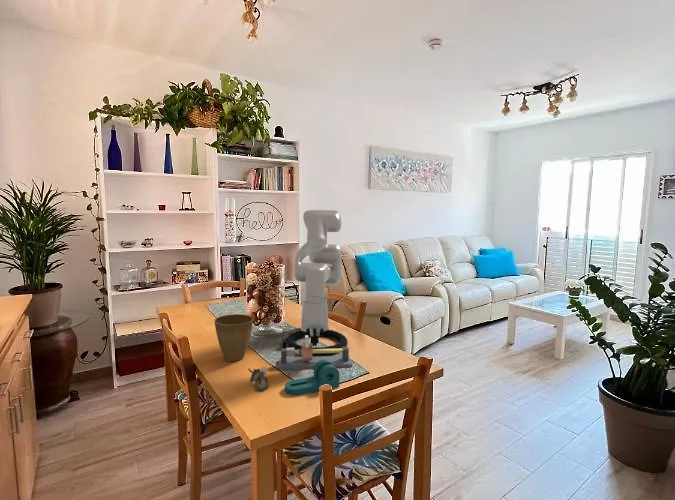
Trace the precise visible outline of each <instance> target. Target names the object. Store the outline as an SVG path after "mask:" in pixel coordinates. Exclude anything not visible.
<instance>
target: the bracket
mask: <svg viewBox="0 0 675 500" xmlns="http://www.w3.org/2000/svg"><path fill="white" fill-rule="evenodd" d="M324 384H329V385H331V386H332V388H333V389H336V388H339V387H340V372H339V370H338V368H337V367H334V366H333V365H332V364H331V363H330V362H329V361H328V360H325V359H324V360H320V361H319V362H317V363H316V365H315V367H314V368H313V376H309V377H308V376H307V377H302V378H298V379H296V378H295V379H292V380H289V381H287V382H285V383H284V393H285V394H286V395H289V396H300V395H305V394H307V395H308V394H311V393H315V392H316V393H317V392H320V391H319V387H320V386H321V385H324Z"/></svg>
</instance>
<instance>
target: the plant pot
mask: <svg viewBox="0 0 675 500" xmlns="http://www.w3.org/2000/svg"><path fill="white" fill-rule="evenodd" d="M213 320H214V326H215V332H216V336H217V341H218V345H219V347H220V350H221V353H222V356H223V358H224V360H225V361H227V362H238V361H241V360H243V359H244V357H245V355H246V352H247V349H248V346H249V343H250V338H251V335H252V331H253V330H252V329H253V326H254V325H253V324H254V317H253V316H251V315H248V314H243V313H242V314H241V313H239V314H235V313H234V314H233V313H232V314H225V315H221V316H218V317H216V318H215V319H213Z"/></svg>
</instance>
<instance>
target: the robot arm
mask: <svg viewBox="0 0 675 500" xmlns="http://www.w3.org/2000/svg"><path fill="white" fill-rule="evenodd" d="M302 216H303V222H304V226H305V227H306V230H307V233H306V235H307V237H306V242H305V243H304V244H303V245H302V246H301V247H300V248H299V249H298V251H297V252H296V255H295V258H294V274H293V275H294V279H295V280H296V281H298V282H300V283H301V282H304V283H305V286H304V288H305V294H304V296H305V298H304V299H305V300H304V301H303V302H302V307H301V308H302V309H301V327H300V330H301V331H305V332H307V333H308V334H310V336H309V337H310V343H312V347H317V346H318V345H317V344H319V342H320V340H319V338H320V336H319V335H320V334H321V333H322V332H323V331H327V330H330V329H329V328H330V324H329V310H328V303H327V300H329V299H330V297H329V295H327V292H326V286H337V285H340V284H341V282H342V265H343V264H342V258H343V257H342V248H341V246H340V245H338V244H336V243H335V244H332V243H331V244H328V233H339V232H340V231H341V228H342V217H341V213H340V212H339V211H338V210H332V209H331V210H330V209H310V210H306V211H304V212H303V215H302ZM308 256H309V261H310V262H303V260H304V259H305V258H306V257H308ZM313 329H316V333H315V336H314V333H313Z"/></svg>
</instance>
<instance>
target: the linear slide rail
mask: <svg viewBox="0 0 675 500" xmlns="http://www.w3.org/2000/svg"><path fill="white" fill-rule="evenodd" d="M280 350H281V351H280V357H279V358H278V370H295V369H298V370H301V369H302V368H303V369H314V367H315V365H316V363H317V362H319V361H320V360H324V359H325V360H328V361H329V362H330V363H331V364H332V365H333V366H334V367H335V368H344V367H345V368H352V367H353V363H352V361H351V358H350V355H349V351H350V349H349V347H348V346H346V347H342V348H340V349H312V354H315V353H335V354H338V353H339V354H341V355H326V356H312V361H302V358H301V356H295V355H301V354H302V350H301V349H298V350H294V348H281V349H280ZM303 369H302V370H303Z"/></svg>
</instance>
